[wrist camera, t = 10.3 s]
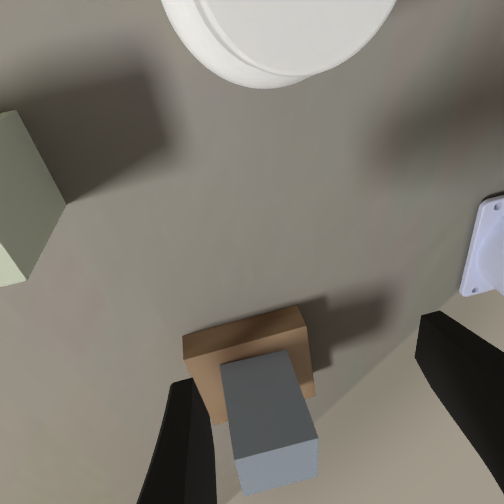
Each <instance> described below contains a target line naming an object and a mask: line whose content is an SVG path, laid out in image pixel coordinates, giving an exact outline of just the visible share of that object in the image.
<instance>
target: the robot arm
mask: <svg viewBox="0 0 504 504" xmlns="http://www.w3.org/2000/svg"><path fill="white" fill-rule="evenodd" d="M493 289H496V290H498V291H499V292H500V293H501V294H502V295H503V296H504V195H501V196H497V197H493V198H489V199H486V200H484V201H483V202H482V203H481V204H480V206H479V209H478V214H477V218H476V222H475V226H474V231H473V235H472V239H471V243H470V247H469V252H468V256H467V260H466V264H465V269H464V273H463V277H462V281H461V286H460V290H459V292H460V294H461V295H462V296H464V297H466V296H471V295H474V294H478V293H482V292H486V291H489V290H493ZM415 359H416V360H417V363H418V364H419V366H420V368H421V370H422V372H423V374H424V375H425V377H426V379H427V381H428V382H429V384H430V386H431V388H432V389H433V391H434V392H435V393H436V395H437V396H438V398H439V399H440V401H441V402H442V403H443V405H444V406H445V408H446V409H447V411H448V412H449V413H450V415H451V416H452V417H453V419H454V420H455V422H456V423H457V425H458V426H459V427H460V429H461V430H462V432H463V433H464V434H465V436H466V437H467V439H468V440H469V441H470V443H471V444H472V446H473V447H474V448H475V450H476V451H477V452H478V454H479V455H480V457H481V458H482V460H483V461H484V463H485V464H486V466H487V467H488V469H489V470H490V472H491V473H492V475H493V477H494V478H495V480H496V482H497V483H498V485H499V487H500V488H501V490H502V492H503V493H504V352H502V351H501V350H499V349H498V348H496V347H495V346H493V345H492V344H490V343H488V342H487V341H485V340H484V339H482V338H481V337H479V336H478V335H476V334H475V333H473V332H472V331H470V330H469V329H467V328H466V327H464V326H463V325H461V324H460V323H458V322H457V321H455V320H454V319H452V318H451V317H449V316H447V315H446V314H444V313H443V312H441V311H436V312H432V313H429V314H425V315H421V320H420V326H419V333H418V339H417V345H416V352H415ZM137 504H217V494H216V472H215V452H214V443H213V436H212V429H211V423H210V416H209V413H208V410H207V408H206V406H205V404H204V401H203V399H202V397H201V395H200V392H199V390H198V388H197V386H196V383H195V381H194V379H193V378H189V379H185V380H181V381H178V382H174V383H172V384H171V386H170V390H169V395H168V400H167V404H166V409H165V413H164V417H163V421H162V425H161V429H160V432H159V436H158V439H157V443H156V446H155V449H154V453H153V456H152V459H151V463H150V466H149V469H148V472H147V475H146V478H145V481H144V484H143V487H142V489H141V492H140V495H139V498H138V501H137Z"/></svg>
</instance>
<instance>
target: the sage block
mask: <svg viewBox="0 0 504 504" xmlns="http://www.w3.org/2000/svg"><path fill="white" fill-rule="evenodd" d="M66 205H67V204H66V203H65V201H64V199H63V197H62V195H61V193H60V191H59V189H58V188H57V186H56V184H55V182H54V180H53V178H52V176H51V174H50V172H49V171H48V169H47V167H46V165H45V163H44V161H43V159H42V157H41V156H40V154H39V152H38V150H37V148H36V146H35V144H34V142H33V141H32V139H31V137H30V135H29V133H28V131H27V129H26V127H25V125H24V124H23V122H22V120H21V118H20V116H19V114H18V112H17V110H13V111H8V112H3V113H0V287H2V286H6V285H10V284H15V283H19V282H23V281H27V280H28V278H29V276H30V274H31V272H32V270H33V268H34V266H35V264H36V262H37V260H38V258H39V256H40V255H41V253H42V251H43V249H44V247H45V245H46V243H47V241H48V239H49V237H50V235H51V233H52V231H53V230H54V228H55V226H56V224H57V222H58V220H59V218H60V216H61V214H62V212H63V210H64V208H65V206H66Z"/></svg>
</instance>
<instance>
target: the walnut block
mask: <svg viewBox="0 0 504 504" xmlns="http://www.w3.org/2000/svg"><path fill="white" fill-rule="evenodd" d="M182 338H183V360H184V362H185V364H186V366H187V369H188V371H189V373H190V375H191V377H192V378H193V379H194V381H195V383H196V386H197V388H198V390H199V392H200V395H201V397H202V399H203V401H204V404H205V406H206V408H207V410H208V413H209V415H210V417H211V419H212V421H213V423H214V425H217V424H220V423H224V422H227V421H228V416H227V410H226V404H225V397H224V391H223V385H222V379H221V372H220V366H219V365H222V364H226V363H231V362H235V361H239V360H244V359H248V358H252V357H257V356H261V355H265V354H270V353H274V352H278V351H282V350H287V352H288V355H289V358H290V361H291V363H292V366H293V369H294V372H295V374H296V377H297V380H298V383H299V386H300V388H301V391H302V394H303V397H304V399H307V398H310V397H314V396H316V394H315V386H314V379H313V371H312V364H311V356H310V349H309V341H308V334H307V326H306V324H305V321H304V319H303V317H302V314H301V312H300V310H299V308H298V305H294V306H290V307H286V308H283V309H279V310H275V311H272V312H268V313H264V314H261V315H257V316H253V317H250V318H246V319H242V320H239V321H235V322H232V323H228V324H224V325H221V326H217V327H213V328H210V329H206V330H202V331H199V332H195V333H191V334H188V335H184V336H182Z"/></svg>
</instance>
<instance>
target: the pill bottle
mask: <svg viewBox="0 0 504 504" xmlns="http://www.w3.org/2000/svg"><path fill="white" fill-rule="evenodd" d="M161 1H162V4H163V7H164V9H165V11H166V14H167V16H168V18H169V21H170V22H171V24H172V26H173V28H174V29H175V31H176V33H177V34H178V36H179V37H180V39H181V40H182V42H183V43H184V45H185V46H186V47H187V48H188V49H189V51H190V52H191V53H192V54H193V55H194V56H195V57H196V58H197V59H198V60H199V61H200V62H201V63H202V64H203V65H204V66H206V67H207V68H208V69H209V70H211V71H212V72H214V73H215V74H216V75H218V76H220V77H222V78H224V79H226V80H228V81H230V82H232V83H235V84H238V85H242V86H246V87H250V88H258V89H273V88H280V87H285V86H289V85H292V84H295V83H298V82H300V81H303V80H305V79H307V78H309V77H311V76H313V75H315V74H318V73H321V72H324V71H327V70H329V69H331V68H334V67H336V66H338V65H339V64H341V63H343V62H345V61H346V60H348V59H349V58H350V57H352V56H353V55H355V54H356V53H357V52H358V51H359V50H360V49H362V48H363V47H364V46H365V45H366V44H367V43H368V42H369V41H370V39H371V38H372V37H373V36H374V35H375V34H376V33H377V31H378V30H379V29H380V27H381V26H382V24H383V23H384V22H385V20H386V19H387V17H388V16H389V14H390V12H391V10H392V8H393V7H394V5H395V3H396V1H397V0H161Z"/></svg>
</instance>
